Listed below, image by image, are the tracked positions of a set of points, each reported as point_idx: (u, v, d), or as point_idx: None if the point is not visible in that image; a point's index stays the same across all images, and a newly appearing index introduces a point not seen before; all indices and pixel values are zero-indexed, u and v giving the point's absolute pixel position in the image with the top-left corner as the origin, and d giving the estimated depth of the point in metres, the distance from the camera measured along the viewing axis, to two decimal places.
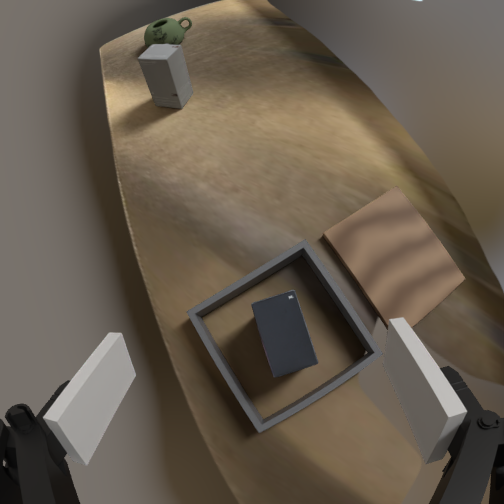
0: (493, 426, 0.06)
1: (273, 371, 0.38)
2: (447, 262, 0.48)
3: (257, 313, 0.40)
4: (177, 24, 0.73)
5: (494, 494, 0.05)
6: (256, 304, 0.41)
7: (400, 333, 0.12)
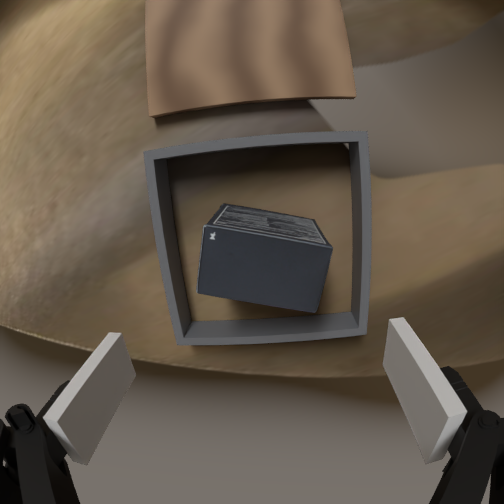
0: (493, 426, 0.06)
1: (307, 310, 0.26)
2: None
3: (214, 292, 0.26)
4: None
5: (494, 495, 0.05)
6: (200, 287, 0.26)
7: (400, 333, 0.12)
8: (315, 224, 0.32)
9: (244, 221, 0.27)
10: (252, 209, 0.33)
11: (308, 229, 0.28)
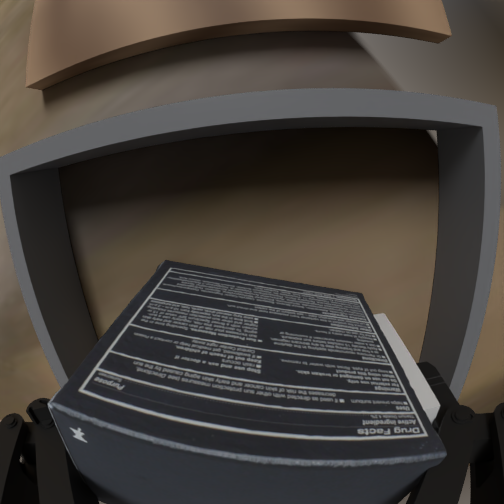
0: (467, 421, 0.07)
1: None
2: None
3: None
4: None
5: (475, 492, 0.05)
6: None
7: None
8: (370, 315, 0.13)
9: (188, 356, 0.09)
10: (226, 278, 0.14)
11: (365, 353, 0.10)
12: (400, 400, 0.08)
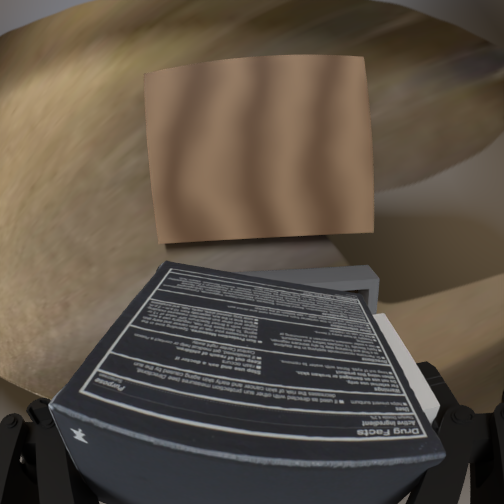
0: (467, 421, 0.07)
1: None
2: (320, 67, 0.25)
3: None
4: None
5: (474, 492, 0.05)
6: (97, 496, 0.07)
7: None
8: (369, 316, 0.13)
9: (188, 357, 0.09)
10: (226, 278, 0.14)
11: (365, 354, 0.10)
12: (399, 401, 0.08)
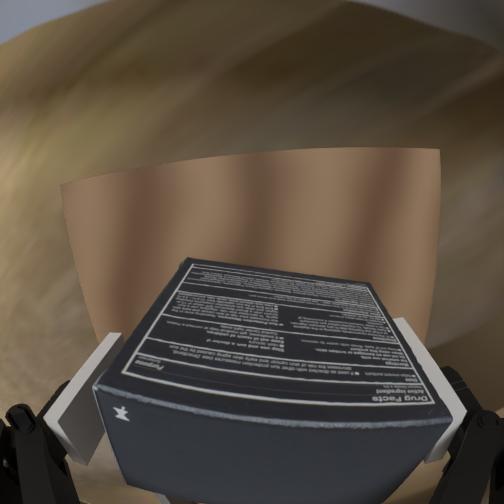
0: (492, 426, 0.06)
1: None
2: (366, 174, 0.15)
3: (160, 491, 0.08)
4: None
5: (494, 494, 0.05)
6: (129, 480, 0.08)
7: None
8: (378, 301, 0.14)
9: (218, 339, 0.10)
10: (245, 271, 0.15)
11: (375, 334, 0.11)
12: (409, 373, 0.09)
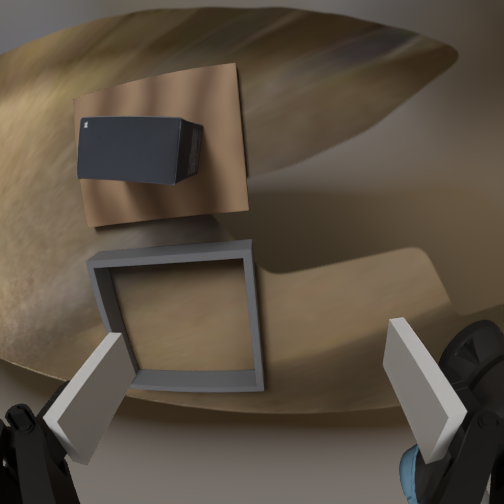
0: (493, 427, 0.06)
1: (165, 182, 0.26)
2: (197, 78, 0.32)
3: (88, 174, 0.26)
4: None
5: (494, 494, 0.05)
6: (78, 172, 0.26)
7: (400, 333, 0.12)
8: None
9: None
10: None
11: None
12: None
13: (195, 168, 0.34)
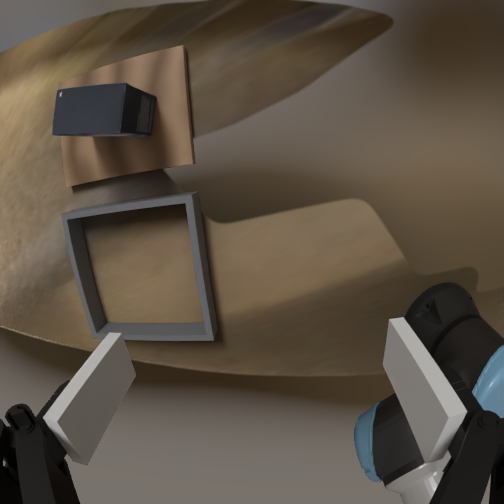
0: (493, 426, 0.06)
1: (113, 131, 0.30)
2: (153, 60, 0.37)
3: (60, 131, 0.30)
4: None
5: (494, 494, 0.05)
6: (53, 130, 0.30)
7: (400, 333, 0.12)
8: (148, 93, 0.36)
9: None
10: None
11: None
12: None
13: (147, 129, 0.38)
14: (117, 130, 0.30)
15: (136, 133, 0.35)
